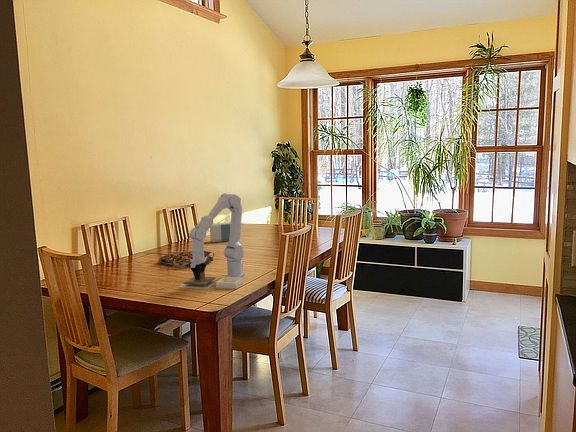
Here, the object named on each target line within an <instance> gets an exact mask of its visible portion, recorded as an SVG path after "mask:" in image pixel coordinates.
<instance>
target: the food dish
mask: <svg viewBox="0 0 576 432" xmlns="http://www.w3.org/2000/svg"><path fill="white" fill-rule="evenodd" d="M211 254H212V256H211ZM204 257H206V261H205V262H204V263H207V265H209V264H211V263H212V262H213V261H214V257H215V253H214V252H211V251H206V250H205V249H204ZM191 260H193V255H192V250H190V251H189V250H187V251H178V252H171V253H168V254H164V255H163V256H161V257H159V258H158V262H159V263H161V264H162V265H164V266H165V267H169V268H177V269H189V268H190V266H191V263H192V262H191ZM190 269H191V268H190Z"/></svg>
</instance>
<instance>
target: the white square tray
mask: <svg viewBox="0 0 576 432" xmlns="http://www.w3.org/2000/svg"><path fill="white" fill-rule="evenodd" d="M216 281H217V282H216V284H215V288H216V289H222V290H225V289H226V290H237V289H238V288H239V287H240V286H242V285H243V277H240V278H233V277H225V276H223V277H221V278H220V279H219V280H216Z"/></svg>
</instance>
